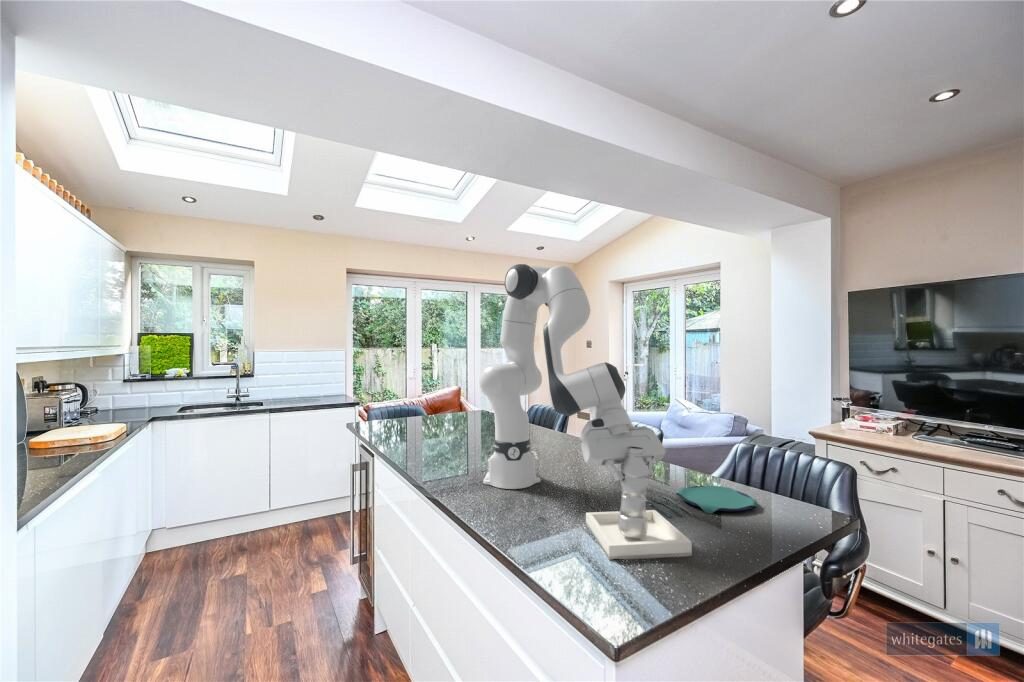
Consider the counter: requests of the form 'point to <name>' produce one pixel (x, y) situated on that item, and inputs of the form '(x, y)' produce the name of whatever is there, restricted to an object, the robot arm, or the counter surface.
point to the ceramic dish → (654, 545)
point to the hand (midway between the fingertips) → (635, 478)
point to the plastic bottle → (633, 494)
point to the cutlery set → (710, 499)
